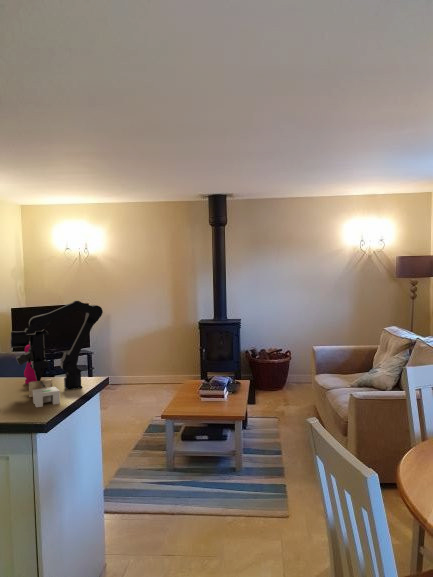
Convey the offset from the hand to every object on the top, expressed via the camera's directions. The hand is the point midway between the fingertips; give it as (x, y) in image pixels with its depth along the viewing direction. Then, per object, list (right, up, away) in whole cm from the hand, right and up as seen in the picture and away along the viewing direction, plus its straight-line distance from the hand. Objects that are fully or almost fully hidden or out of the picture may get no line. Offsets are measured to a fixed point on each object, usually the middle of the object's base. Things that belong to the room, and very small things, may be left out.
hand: (38, 381), depth 183 cm
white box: (+7, -5, -11) cm, 14 cm away
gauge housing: (+10, -5, -16) cm, 20 cm away
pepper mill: (-11, -5, +18) cm, 22 cm away
